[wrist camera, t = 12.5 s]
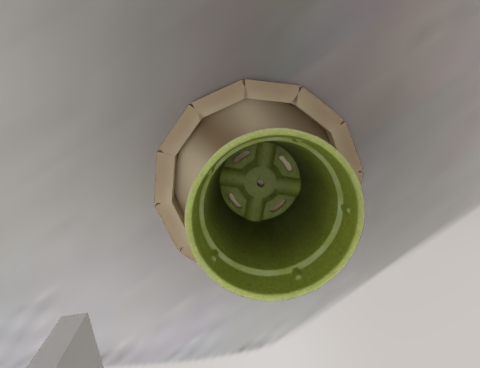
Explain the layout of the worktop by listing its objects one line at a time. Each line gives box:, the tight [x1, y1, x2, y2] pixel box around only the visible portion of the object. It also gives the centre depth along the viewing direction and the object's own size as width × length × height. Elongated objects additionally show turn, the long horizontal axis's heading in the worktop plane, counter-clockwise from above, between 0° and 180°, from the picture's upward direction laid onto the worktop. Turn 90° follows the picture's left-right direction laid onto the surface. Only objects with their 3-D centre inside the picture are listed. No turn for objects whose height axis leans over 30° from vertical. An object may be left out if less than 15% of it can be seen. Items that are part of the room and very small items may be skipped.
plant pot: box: [185, 128, 364, 301], centre depth 24 cm, size 9×9×9 cm
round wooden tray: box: [154, 79, 363, 263], centre depth 28 cm, size 14×14×2 cm
